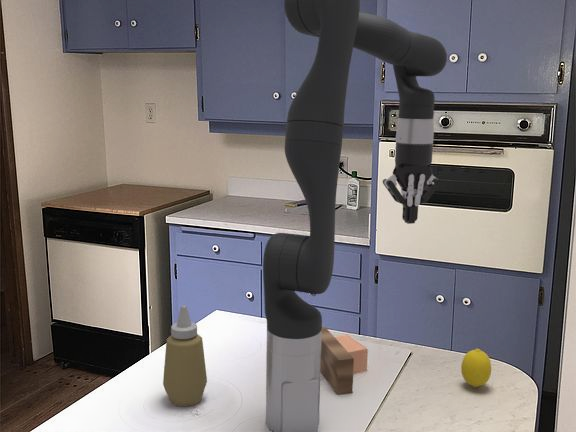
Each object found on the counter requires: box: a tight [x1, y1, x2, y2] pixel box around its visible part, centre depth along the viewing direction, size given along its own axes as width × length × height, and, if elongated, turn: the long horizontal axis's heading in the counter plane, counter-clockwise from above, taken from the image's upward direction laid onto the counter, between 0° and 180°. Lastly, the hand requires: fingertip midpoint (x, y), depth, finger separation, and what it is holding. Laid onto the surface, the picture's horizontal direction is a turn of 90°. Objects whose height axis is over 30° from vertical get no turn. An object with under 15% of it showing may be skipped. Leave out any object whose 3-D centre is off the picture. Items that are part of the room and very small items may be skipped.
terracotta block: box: [334, 334, 369, 375], centre depth 127 cm, size 8×5×5 cm, turn 25°
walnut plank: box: [320, 326, 354, 395], centre depth 122 cm, size 16×3×7 cm, turn 16°
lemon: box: [460, 348, 492, 388], centre depth 118 cm, size 6×6×8 cm
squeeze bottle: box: [162, 305, 208, 407], centre depth 111 cm, size 8×8×18 cm
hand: (409, 222), depth 129 cm, fingers closed
